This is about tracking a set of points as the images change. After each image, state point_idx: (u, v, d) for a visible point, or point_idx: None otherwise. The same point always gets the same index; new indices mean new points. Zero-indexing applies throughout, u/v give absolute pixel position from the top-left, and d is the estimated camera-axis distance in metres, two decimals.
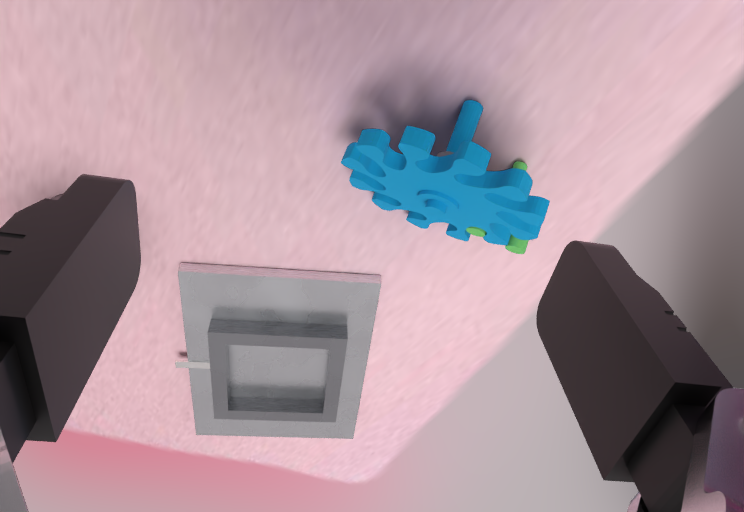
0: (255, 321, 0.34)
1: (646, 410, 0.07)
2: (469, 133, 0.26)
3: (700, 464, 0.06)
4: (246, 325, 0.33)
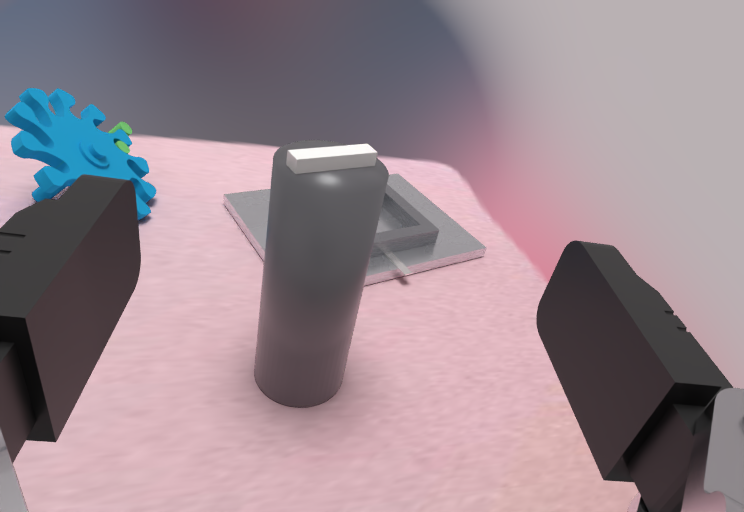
0: None
1: (646, 410, 0.07)
2: None
3: (700, 464, 0.06)
4: None
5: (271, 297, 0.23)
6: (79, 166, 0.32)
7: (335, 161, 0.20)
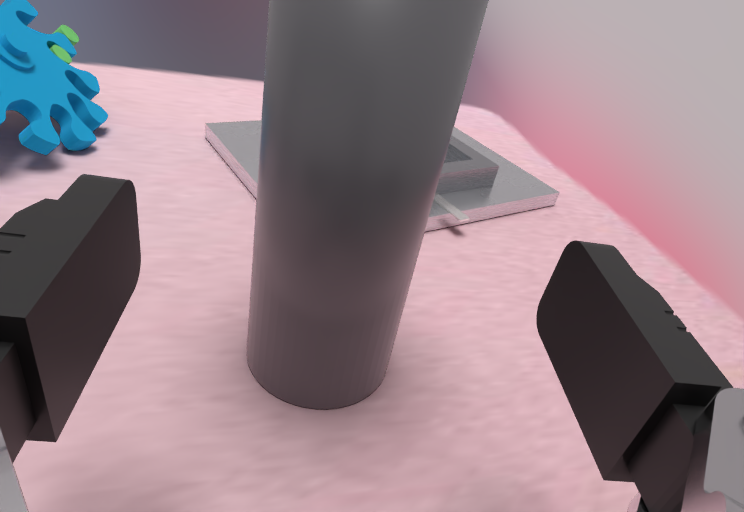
0: None
1: (646, 410, 0.07)
2: None
3: (700, 464, 0.06)
4: None
5: (274, 207, 0.13)
6: None
7: None
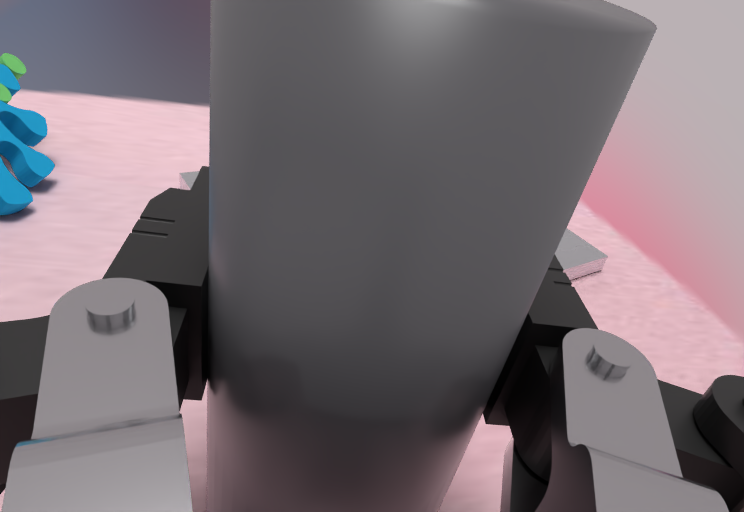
0: None
1: (514, 353, 0.08)
2: None
3: (561, 414, 0.06)
4: None
5: (229, 425, 0.07)
6: None
7: None
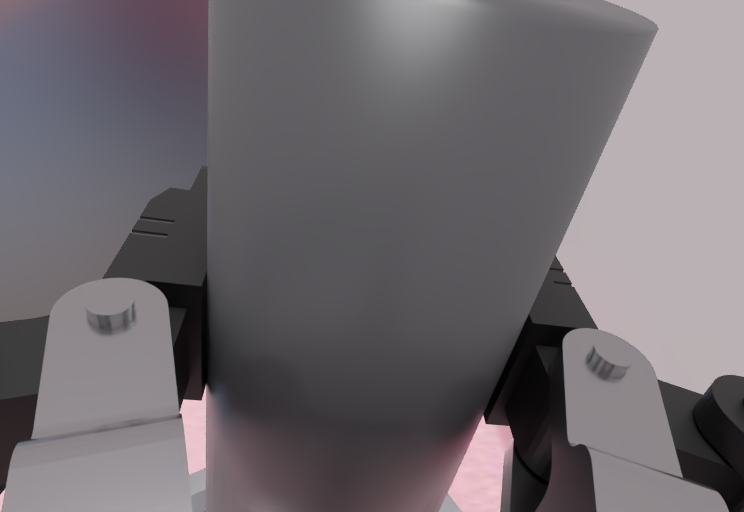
0: None
1: (515, 353, 0.08)
2: None
3: (561, 414, 0.06)
4: None
5: (228, 428, 0.07)
6: None
7: None
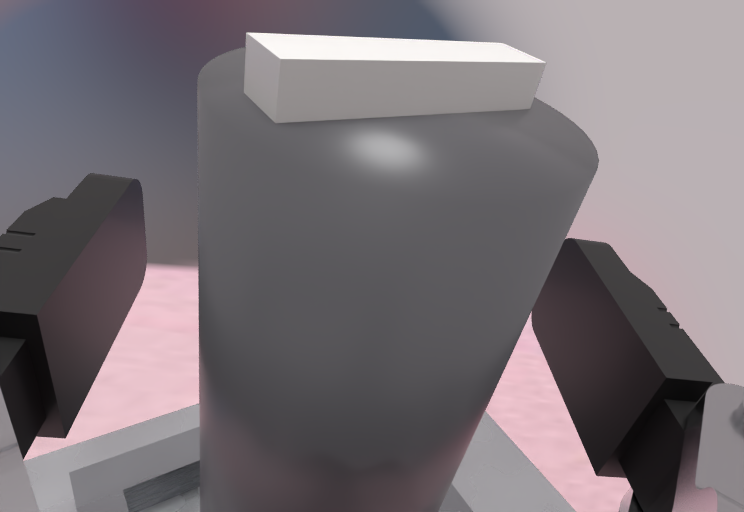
0: None
1: (638, 405, 0.07)
2: None
3: (691, 460, 0.06)
4: None
5: (219, 491, 0.08)
6: None
7: (421, 83, 0.06)
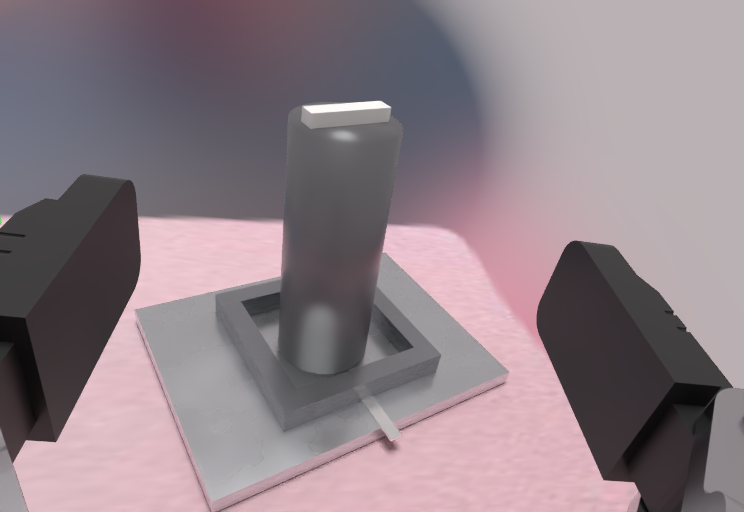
0: (259, 387, 0.25)
1: (646, 410, 0.07)
2: None
3: (700, 464, 0.06)
4: (262, 388, 0.24)
5: (292, 259, 0.23)
6: None
7: (349, 116, 0.21)
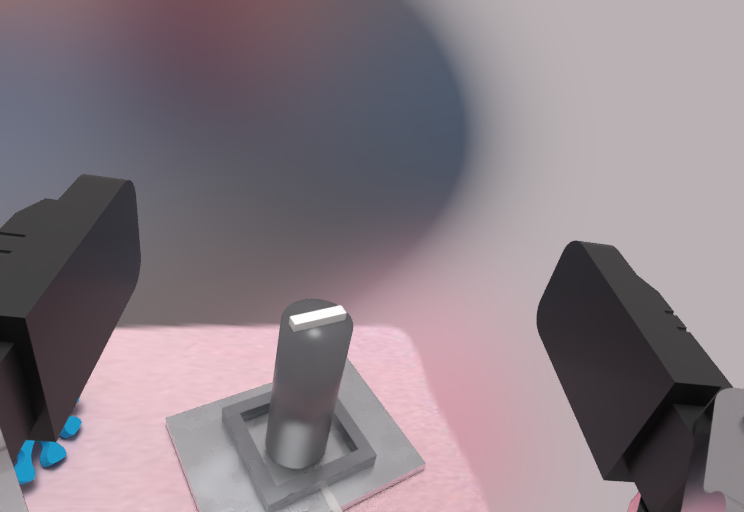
0: (252, 480, 0.37)
1: (646, 410, 0.07)
2: None
3: (700, 464, 0.06)
4: (254, 483, 0.36)
5: (278, 399, 0.35)
6: None
7: (319, 321, 0.33)
